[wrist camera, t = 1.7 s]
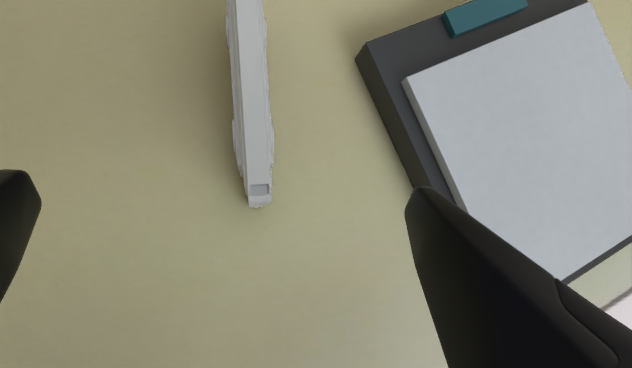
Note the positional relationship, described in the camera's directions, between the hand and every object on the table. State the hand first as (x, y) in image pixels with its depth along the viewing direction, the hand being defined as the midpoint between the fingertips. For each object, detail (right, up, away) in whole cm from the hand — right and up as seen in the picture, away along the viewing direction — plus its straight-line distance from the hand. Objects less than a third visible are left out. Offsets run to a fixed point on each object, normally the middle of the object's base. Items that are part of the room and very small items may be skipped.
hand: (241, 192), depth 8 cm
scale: (+16, +2, +16) cm, 23 cm away
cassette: (-2, +5, +12) cm, 13 cm away
